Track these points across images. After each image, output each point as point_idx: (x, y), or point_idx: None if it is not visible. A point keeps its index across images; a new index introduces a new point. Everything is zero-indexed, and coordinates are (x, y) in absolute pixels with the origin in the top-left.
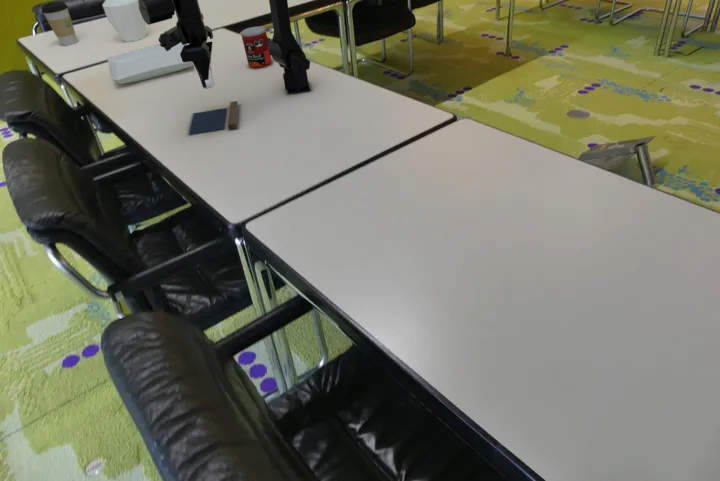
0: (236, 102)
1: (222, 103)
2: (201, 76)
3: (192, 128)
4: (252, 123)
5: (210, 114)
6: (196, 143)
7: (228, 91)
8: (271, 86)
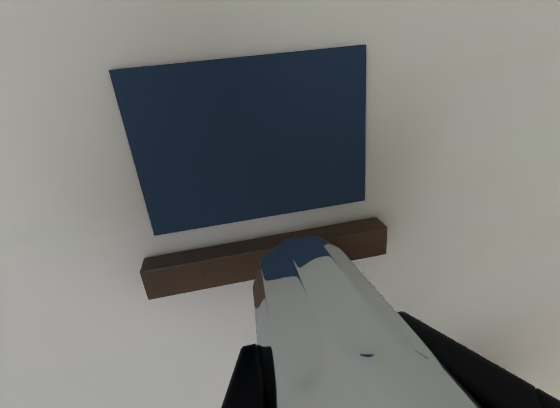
0: (369, 255)
1: (430, 169)
2: (267, 350)
3: (175, 77)
4: (194, 326)
5: (321, 142)
6: (3, 132)
7: (539, 170)
8: (491, 318)
